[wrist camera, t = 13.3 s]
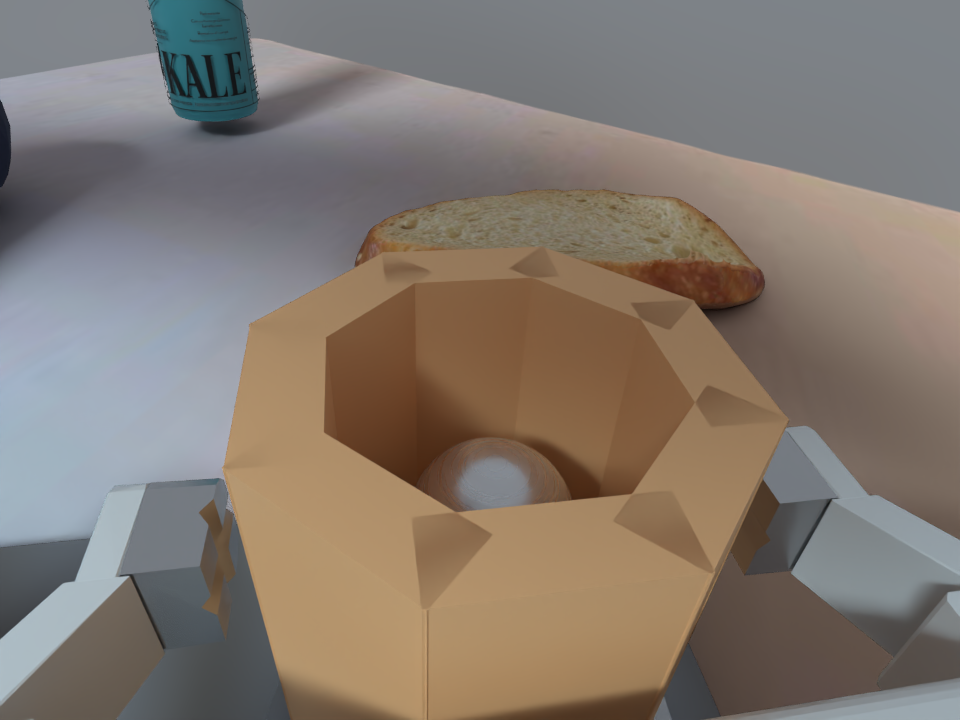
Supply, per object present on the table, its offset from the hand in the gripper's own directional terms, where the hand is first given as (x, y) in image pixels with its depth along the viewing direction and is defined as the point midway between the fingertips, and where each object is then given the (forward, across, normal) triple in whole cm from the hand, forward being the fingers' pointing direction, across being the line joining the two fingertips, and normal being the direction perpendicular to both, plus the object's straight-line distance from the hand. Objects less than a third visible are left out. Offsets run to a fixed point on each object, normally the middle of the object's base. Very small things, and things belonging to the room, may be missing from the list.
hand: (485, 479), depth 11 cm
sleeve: (-1, 0, +7) cm, 7 cm away
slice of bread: (+23, -9, +10) cm, 26 cm away
